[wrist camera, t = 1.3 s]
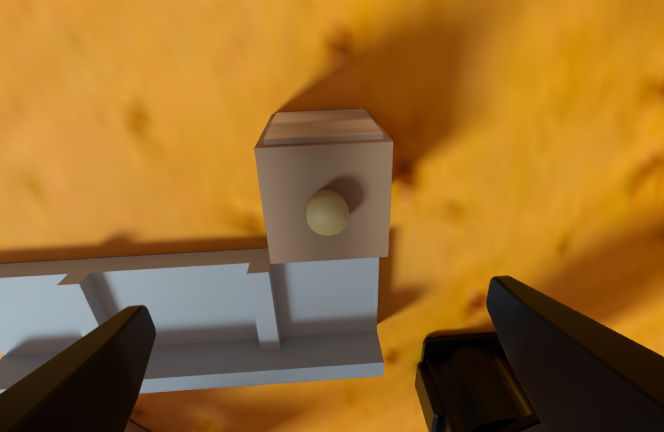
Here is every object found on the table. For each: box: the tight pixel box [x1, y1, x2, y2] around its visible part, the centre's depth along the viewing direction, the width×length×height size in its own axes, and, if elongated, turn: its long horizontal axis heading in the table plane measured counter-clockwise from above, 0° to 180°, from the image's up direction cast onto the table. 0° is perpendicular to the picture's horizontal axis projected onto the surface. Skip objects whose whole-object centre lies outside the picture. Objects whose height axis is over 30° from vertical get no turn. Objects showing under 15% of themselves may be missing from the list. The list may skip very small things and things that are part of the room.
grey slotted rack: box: [0, 248, 384, 394], centre depth 21 cm, size 24×7×4 cm, turn 92°
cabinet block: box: [254, 109, 393, 264], centre depth 16 cm, size 5×5×7 cm
